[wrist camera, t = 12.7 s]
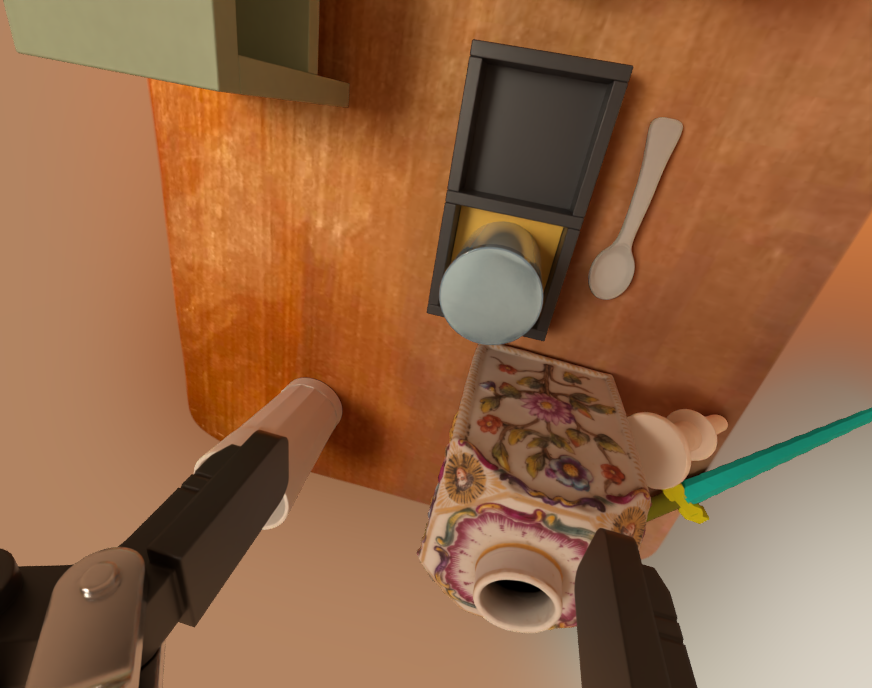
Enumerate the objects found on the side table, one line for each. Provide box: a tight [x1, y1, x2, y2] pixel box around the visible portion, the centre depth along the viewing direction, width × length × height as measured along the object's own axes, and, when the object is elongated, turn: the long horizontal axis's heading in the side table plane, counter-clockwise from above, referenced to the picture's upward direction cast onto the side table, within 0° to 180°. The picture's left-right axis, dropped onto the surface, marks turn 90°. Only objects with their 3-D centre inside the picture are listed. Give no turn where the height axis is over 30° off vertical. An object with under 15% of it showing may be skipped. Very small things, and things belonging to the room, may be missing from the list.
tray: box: [427, 39, 633, 341], centre depth 29 cm, size 17×9×3 cm, turn 170°
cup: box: [194, 378, 342, 530], centre depth 38 cm, size 8×8×12 cm
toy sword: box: [646, 408, 872, 524], centre depth 35 cm, size 3×6×30 cm
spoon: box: [588, 117, 683, 300], centre depth 29 cm, size 3×12×2 cm, turn 170°
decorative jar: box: [417, 344, 652, 633], centre depth 30 cm, size 12×12×18 cm
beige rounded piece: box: [627, 409, 728, 489], centre depth 32 cm, size 5×5×10 cm
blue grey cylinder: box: [439, 221, 543, 345], centre depth 28 cm, size 6×6×8 cm
